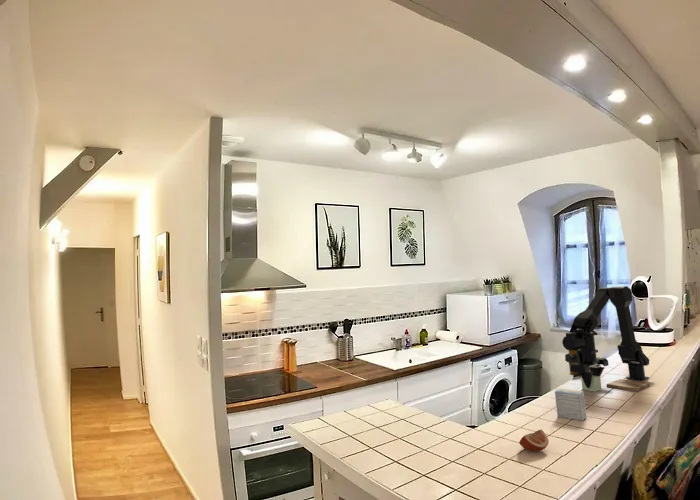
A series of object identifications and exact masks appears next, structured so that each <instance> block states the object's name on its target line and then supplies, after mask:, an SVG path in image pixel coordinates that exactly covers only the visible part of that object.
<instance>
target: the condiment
mask: <svg viewBox="0 0 700 500" xmlns="http://www.w3.org/2000/svg"><path fill="white" fill-rule="evenodd" d="M577 350H580V349H576V350H568V354H569V353H571V354H572V355H574V354H577ZM575 363H577V362H575ZM572 364H574V363H572ZM570 365H571V364H569V363H568V366H569V369H570ZM568 375H569V376H579V377H581V375H580V374H579V373H578V372H573V371H570V370H569V373H567V376H568Z"/></svg>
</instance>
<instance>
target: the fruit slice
mask: <svg viewBox="0 0 700 500" xmlns="http://www.w3.org/2000/svg"><path fill="white" fill-rule="evenodd" d="M549 442H550V441H549V437H548V436H547V434H546V433H545V431H544V430H543V429H542V428H541V429H538V430H536V431H534V432H531V433H528V434H525V435H523V436H522V437H521V439H519V441H518V443H519V445H520V446H521V447H522V448H523V449H524V450H526V451H528V452H535V453H536V452H541V451H542V450H545V449H546V448H547V447H548V445H549Z"/></svg>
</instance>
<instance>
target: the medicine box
mask: <svg viewBox="0 0 700 500" xmlns="http://www.w3.org/2000/svg"><path fill="white" fill-rule="evenodd" d="M554 396H555V397H554V398H555V406H556V412H557V413H556V415H557V418H560V419H568V420H575V421H576V420H577V421H582V422H583V421H585V419H586V418H587V411H586V410H587V408H586V401H585V394H584V391H583V390H577V389H566V388H557V389H556V390H555V391H554Z"/></svg>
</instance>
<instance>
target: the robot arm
mask: <svg viewBox="0 0 700 500" xmlns="http://www.w3.org/2000/svg"><path fill="white" fill-rule="evenodd" d="M608 302H610V303H611V304H612V305H613V306H614V308H615V311H616V314H617V320H618V327H619V332H620V338H621V342H620V344H618V345H617V350H618V355H619V358H620V360H621V362H622V364H626V365H627V368H628V374H629V375H628V376H626V377H625V380H632V381H639V382H644V381H645V380H648V379H650V377H649V376H646V371H645V366H649V365H650V359H649V357H648V356H646V354H645V353H644V351H643V348H642V346H641V345H640V343H639V342H638V341H637V340H636V336H635V330H634V324H633V318H632V314H631V308H630V306H631V304H632V302H633V291H632V288H630V287H629V286H624V285H623V286H622V285H621V286H610V287H600V288H598V290H597V293H596V295H595V296H594V297H593V299H592V300H591V301H590V303H589V304H588V306H587V307H586V309H584V311H581V312H579V313H578V314H577V315H576V316H575V317H574V318H573V322H572V324H571V327H570V330H569V332H565V336H564V337H563V338H562V342H561V343H562V346H563V348H564V349H566V350H567V351H569V350H576V349H580V350H577V354H574V355H572V354H571V353H569V352H568V353H566V354H565V355H564V358H565V359H564V360H565V362H566V363H568V365H569V364H571V365H570V368H569V372H570V371H573V372H578V373H579V374H580V375H581V376H580V378H581V377H582V379H583V381H584V383H585V385H586V387H587V388H590V385H591V379H592V375H594V376H600V377H601V376H602V374H603V372H604V369H605V367H608V366H609V364H610V363H609V360H608V358H606V357H597V353H599V350H598V349H596V343H595V341H596V340H595V336H598V335H599V334H598V332H596V331H594V330H595V329H596V327H597V325H598V323H599V319H598V317H599V315H600V313H601V312H602V311H603V309H604V308H605V307H606V305H607V304H608ZM575 362H577V363H575ZM572 363H574V364H572Z"/></svg>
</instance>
